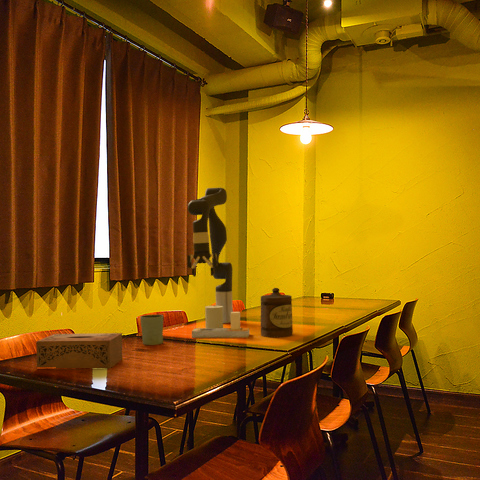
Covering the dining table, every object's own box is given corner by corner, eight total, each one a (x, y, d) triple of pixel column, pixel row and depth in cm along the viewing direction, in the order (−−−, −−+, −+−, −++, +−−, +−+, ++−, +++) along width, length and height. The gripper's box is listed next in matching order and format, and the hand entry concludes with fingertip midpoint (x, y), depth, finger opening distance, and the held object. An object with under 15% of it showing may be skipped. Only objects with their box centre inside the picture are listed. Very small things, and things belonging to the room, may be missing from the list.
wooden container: (276, 339, 214) (275, 289, 214) (254, 334, 225) (253, 288, 226) (299, 334, 223) (298, 287, 224) (277, 331, 235) (276, 286, 235)
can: (224, 327, 247) (224, 304, 248) (222, 330, 238) (221, 306, 239) (207, 328, 248) (206, 304, 249) (203, 331, 239) (203, 306, 239)
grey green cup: (158, 345, 204) (158, 317, 204) (136, 345, 206) (136, 317, 206) (167, 341, 214) (166, 314, 214) (145, 340, 216) (145, 314, 216)
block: (231, 335, 225) (231, 311, 226) (240, 335, 225) (239, 311, 225) (231, 336, 221) (230, 312, 222) (239, 336, 221) (239, 312, 221)
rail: (195, 334, 229) (195, 327, 229) (249, 334, 227) (249, 327, 227) (191, 337, 221) (191, 330, 221) (247, 337, 219) (247, 330, 219)
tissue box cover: (122, 360, 179) (121, 333, 179) (110, 369, 165) (109, 340, 165) (54, 360, 180) (54, 334, 180) (36, 370, 166) (36, 341, 166)
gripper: (217, 241, 231) (219, 274, 231) (188, 242, 233) (190, 275, 233) (214, 241, 223) (216, 276, 223) (184, 243, 225) (186, 277, 226)
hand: (203, 276), depth 228 cm, fingers open, 8 cm apart
